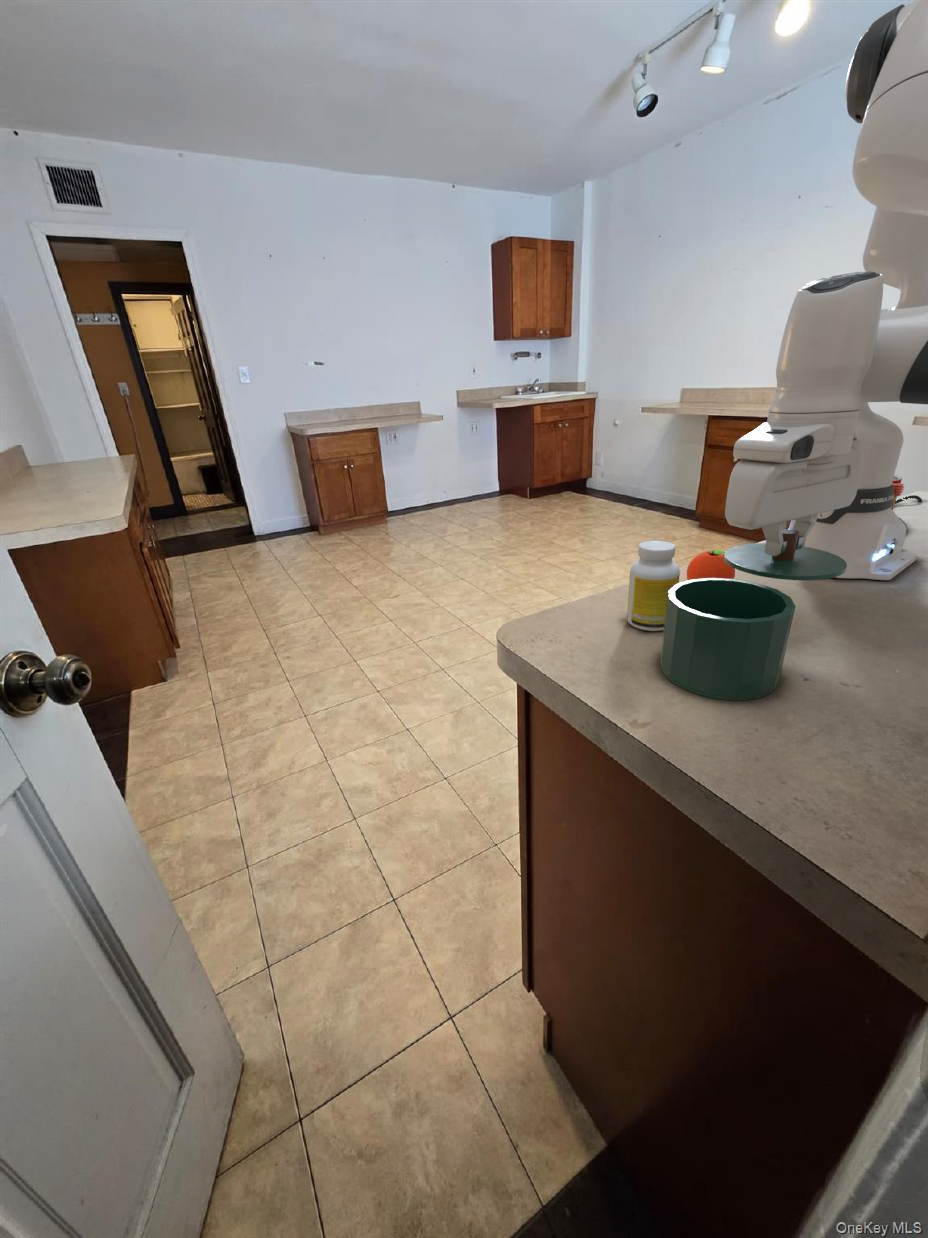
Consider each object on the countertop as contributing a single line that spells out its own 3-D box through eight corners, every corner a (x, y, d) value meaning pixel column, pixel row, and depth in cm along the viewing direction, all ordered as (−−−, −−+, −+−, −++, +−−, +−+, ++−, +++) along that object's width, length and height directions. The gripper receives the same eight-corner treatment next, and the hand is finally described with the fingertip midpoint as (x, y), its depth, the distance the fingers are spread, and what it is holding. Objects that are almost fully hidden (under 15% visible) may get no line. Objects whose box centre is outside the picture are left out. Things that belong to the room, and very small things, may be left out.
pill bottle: (677, 633, 70) (687, 552, 66) (628, 632, 72) (634, 552, 67) (670, 614, 76) (678, 538, 71) (624, 613, 77) (630, 538, 73)
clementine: (705, 581, 87) (711, 540, 84) (744, 592, 82) (752, 549, 79) (674, 593, 83) (679, 550, 80) (713, 605, 78) (720, 561, 75)
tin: (709, 637, 69) (719, 571, 65) (802, 679, 58) (821, 602, 54) (638, 663, 64) (644, 592, 60) (725, 713, 54) (740, 632, 50)
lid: (766, 545, 75) (772, 513, 73) (869, 570, 63) (879, 533, 61) (700, 563, 69) (704, 529, 67) (799, 593, 58) (808, 554, 56)
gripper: (833, 428, 66) (810, 532, 72) (723, 444, 59) (707, 560, 64) (888, 430, 61) (858, 542, 67) (776, 448, 53) (753, 573, 59)
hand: (783, 551), depth 65 cm, fingers closed on lid, 2 cm apart
